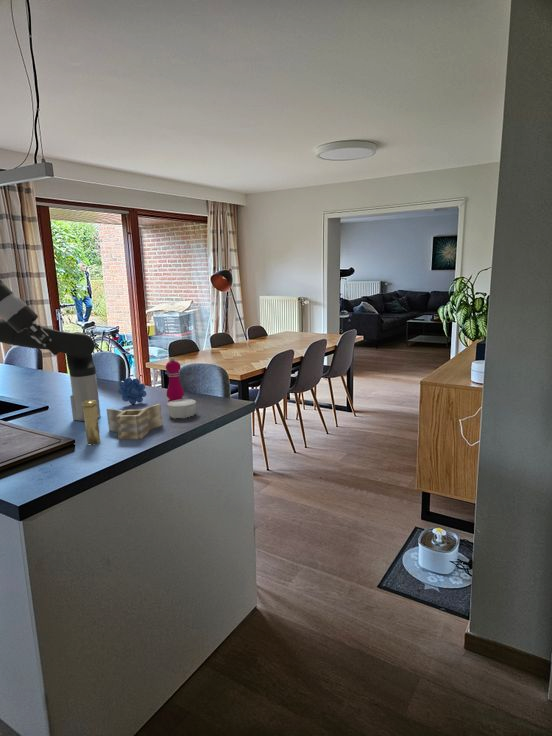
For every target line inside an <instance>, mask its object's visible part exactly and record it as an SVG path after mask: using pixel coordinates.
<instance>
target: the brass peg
mask: <svg viewBox="0 0 552 736" xmlns="http://www.w3.org/2000/svg"><path fill="white" fill-rule="evenodd" d="M96 404H97V402H96V400H88V401H84V402H82V406H83V411H84V420H85V421H84V427H85V436H86V444H87V445H88V444H91V445H90V446H94V445H93V444H97V443H99V444H101V436H100V427H99V418H98V417H97V408H96ZM97 445H98V444H97Z"/></svg>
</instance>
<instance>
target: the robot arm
mask: <svg viewBox="0 0 552 736" xmlns="http://www.w3.org/2000/svg"><path fill="white" fill-rule="evenodd" d="M38 318H39V316H38V314H37V313H36V312H35V311H34V310H33V309H32V308H31V307H30V306H29V305H28V304H27V303H26V302H25V301H24V300H23V299H21V298H20V297H19V296H18V295H17V294H15V293H14V292H13V291H12V290H11V289H10V288H9V287H8V286H7V285H6V284H5V283H4V282H3V281H2V279H1V278H0V343H1V344H2V343H3V344H6V345H12V346H17V347H21V348H22V347H23V348H29V349H36V350H37V349H38V350H47V351H50V353H51V354H52V355H54V356H57V355H58V354H60V353H61V354H62V353H63V354H65V356H66V362H67V368H68V372H69V380H70V387H71V393H72V394H71V395H69V396H70V397H69V398H70V405H71V413H72V420H73V421H77V420H78V421H80V422H83V421H84V422H85V420H84V411H83V406H82V402H84V401H88V400H96V402H97V404H96V408H97V417H98V419H99V418H100V417H101V407H100V399H99V388H98V379H97V374H96V373H97V371H96V366H95V364H94V360H93V353H94V351H95V348H96V345H95V341H94V339H93V338H92V337H91V336H90V335H89V334H87V333H85V332H84V333H83V332H81V331H80V332H78V331H76V332H67V331H62V330H61V331H60V330H56V329H53V328H50V327H47V326H45V325H41V324H39V323H35V322H36V320H37V319H38ZM78 421H77V422H78Z"/></svg>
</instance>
